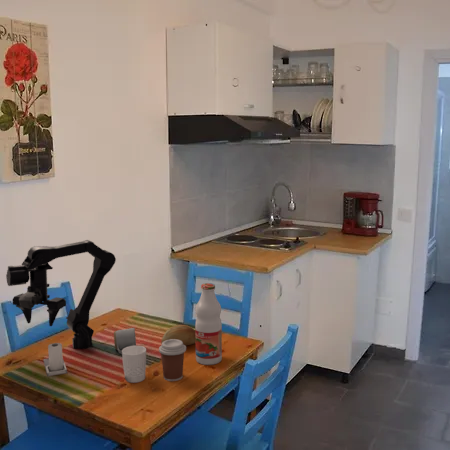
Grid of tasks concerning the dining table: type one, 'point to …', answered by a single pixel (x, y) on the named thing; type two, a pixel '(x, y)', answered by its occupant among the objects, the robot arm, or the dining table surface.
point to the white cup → (134, 363)
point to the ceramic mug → (124, 339)
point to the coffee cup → (172, 359)
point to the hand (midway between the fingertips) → (39, 324)
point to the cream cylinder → (55, 357)
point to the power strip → (46, 363)
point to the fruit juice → (208, 327)
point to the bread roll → (180, 334)
